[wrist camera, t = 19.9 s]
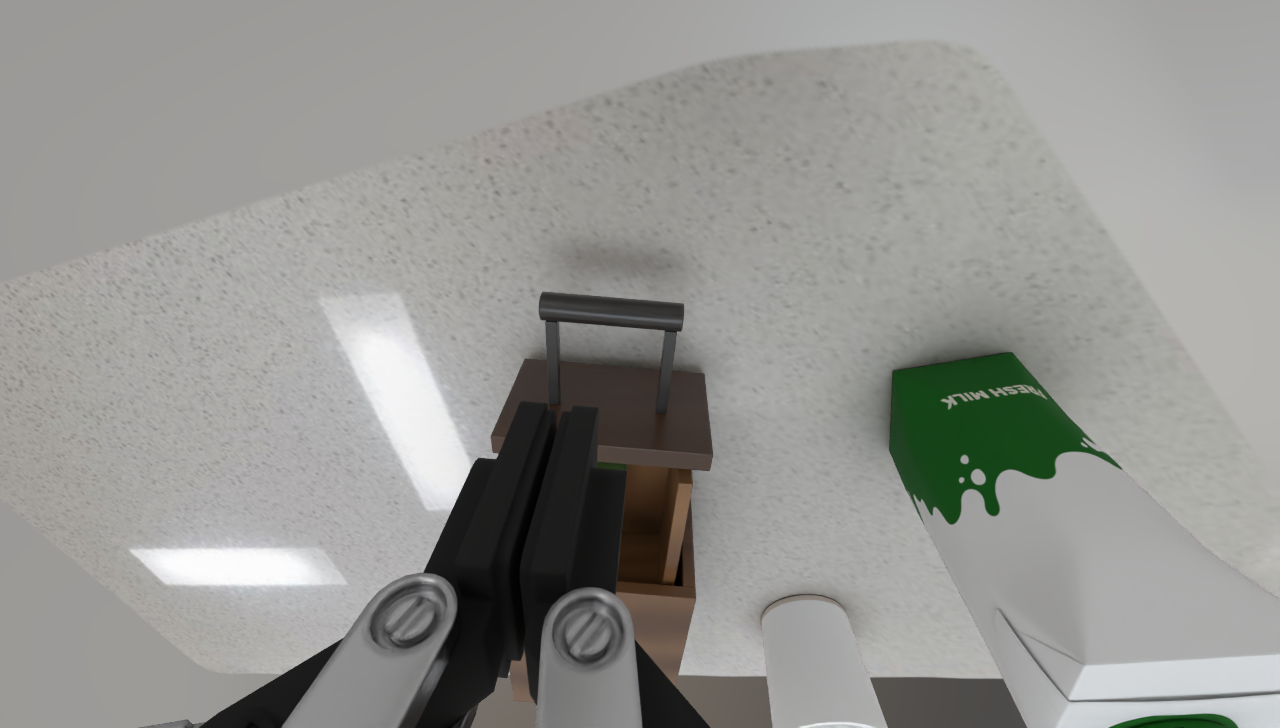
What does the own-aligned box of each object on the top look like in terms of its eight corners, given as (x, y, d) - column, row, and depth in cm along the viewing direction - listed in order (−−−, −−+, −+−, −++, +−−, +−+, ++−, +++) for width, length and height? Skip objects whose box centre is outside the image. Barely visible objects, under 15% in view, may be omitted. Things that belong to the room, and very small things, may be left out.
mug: (736, 622, 48) (751, 748, 40) (799, 579, 44) (832, 710, 36) (820, 657, 51) (850, 781, 43) (887, 620, 47) (936, 750, 38)
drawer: (517, 257, 27) (474, 320, 21) (721, 274, 27) (736, 342, 21) (536, 518, 40) (512, 605, 34) (677, 530, 40) (678, 619, 34)
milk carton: (875, 461, 36) (1054, 830, 19) (877, 359, 31) (1118, 733, 14) (1007, 443, 34) (1325, 827, 18) (1031, 333, 30) (1500, 719, 13)
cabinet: (528, 474, 38) (494, 582, 31) (690, 487, 38) (696, 599, 31) (538, 595, 47) (514, 701, 40) (668, 606, 47) (668, 714, 40)
